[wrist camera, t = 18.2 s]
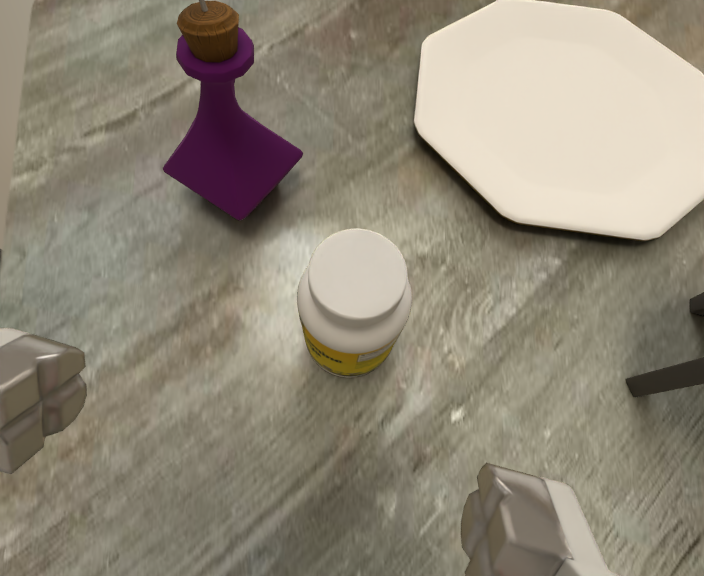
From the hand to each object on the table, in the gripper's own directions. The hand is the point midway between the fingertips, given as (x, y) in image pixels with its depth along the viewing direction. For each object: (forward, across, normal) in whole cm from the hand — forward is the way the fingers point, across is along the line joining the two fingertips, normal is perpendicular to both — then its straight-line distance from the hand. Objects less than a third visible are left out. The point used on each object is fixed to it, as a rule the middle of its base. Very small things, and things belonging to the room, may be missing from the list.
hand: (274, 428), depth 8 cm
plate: (+38, -14, -10) cm, 42 cm away
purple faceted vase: (+26, +11, +2) cm, 29 cm away
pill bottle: (+19, 0, +8) cm, 21 cm away
